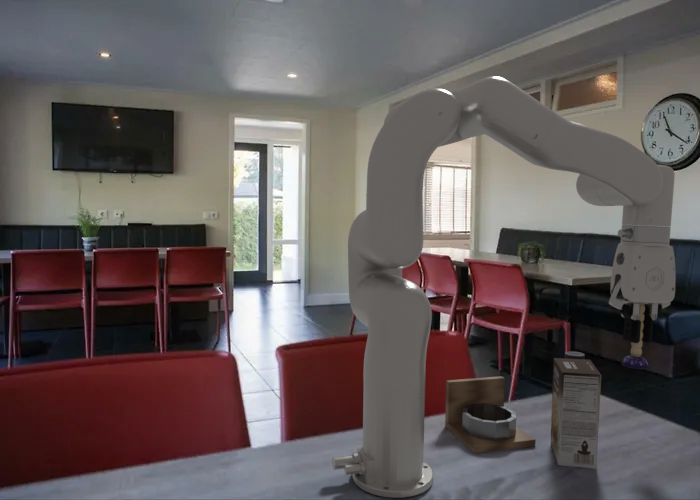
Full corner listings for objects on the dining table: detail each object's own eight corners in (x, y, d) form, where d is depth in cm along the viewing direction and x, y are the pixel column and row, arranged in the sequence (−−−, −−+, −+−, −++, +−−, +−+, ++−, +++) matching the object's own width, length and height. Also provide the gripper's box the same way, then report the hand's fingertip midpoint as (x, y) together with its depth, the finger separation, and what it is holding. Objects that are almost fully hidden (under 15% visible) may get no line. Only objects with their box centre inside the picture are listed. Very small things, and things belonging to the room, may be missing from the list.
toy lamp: (624, 361, 100) (629, 270, 99) (653, 365, 98) (659, 272, 96) (619, 366, 96) (624, 272, 95) (649, 371, 94) (655, 274, 92)
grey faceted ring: (477, 442, 97) (478, 424, 96) (453, 422, 106) (454, 405, 106) (525, 437, 99) (526, 419, 99) (498, 418, 108) (498, 401, 108)
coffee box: (548, 443, 100) (552, 356, 99) (586, 446, 99) (590, 358, 97) (557, 466, 91) (561, 371, 90) (598, 470, 90) (603, 373, 88)
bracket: (474, 453, 95) (476, 401, 95) (445, 426, 107) (446, 380, 106) (535, 446, 98) (537, 396, 98) (500, 421, 110) (501, 376, 109)
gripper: (623, 236, 90) (615, 347, 91) (699, 239, 94) (691, 345, 95) (591, 234, 97) (584, 337, 98) (664, 237, 101) (656, 335, 102)
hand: (637, 340), depth 97 cm, fingers closed on toy lamp
